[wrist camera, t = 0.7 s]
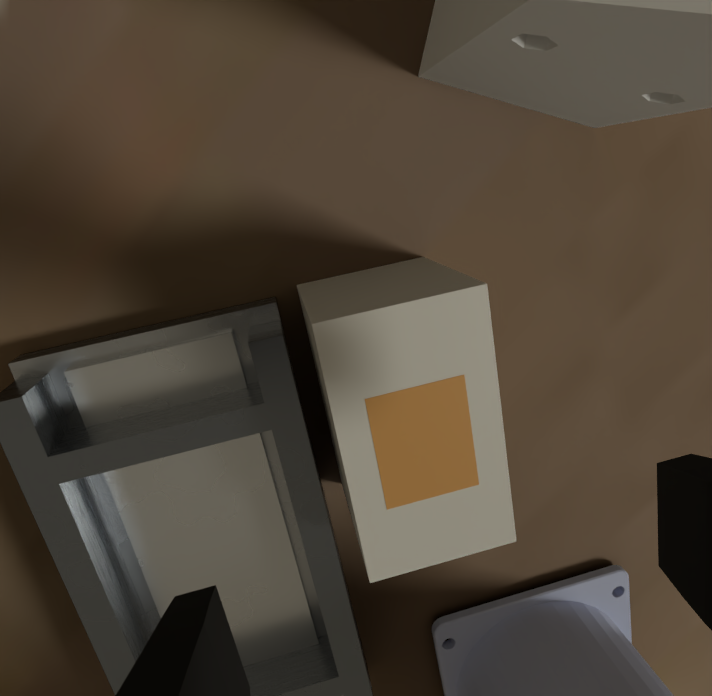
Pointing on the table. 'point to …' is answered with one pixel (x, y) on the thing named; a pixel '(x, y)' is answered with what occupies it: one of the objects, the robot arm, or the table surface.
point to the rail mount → (187, 493)
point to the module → (412, 411)
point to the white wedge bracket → (576, 55)
